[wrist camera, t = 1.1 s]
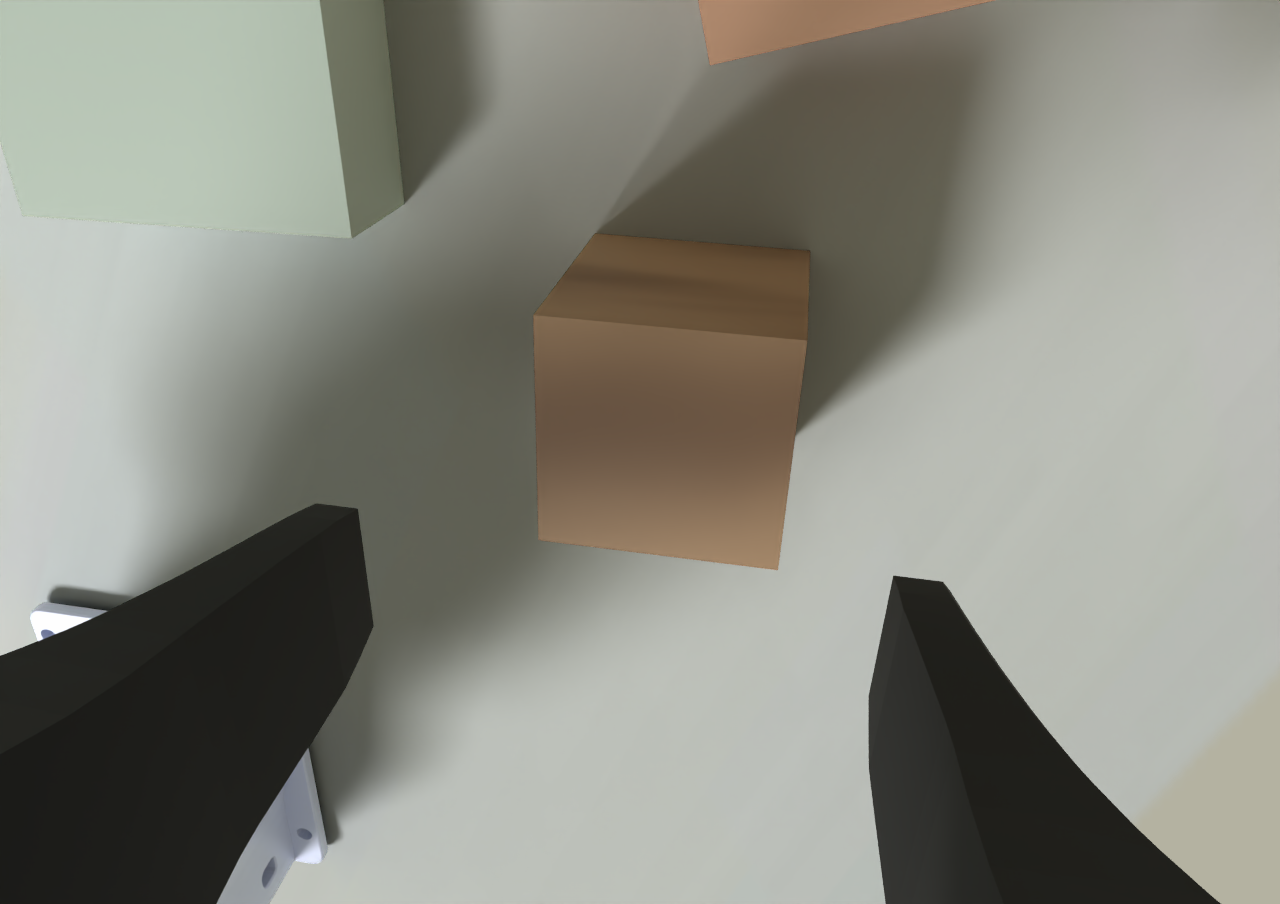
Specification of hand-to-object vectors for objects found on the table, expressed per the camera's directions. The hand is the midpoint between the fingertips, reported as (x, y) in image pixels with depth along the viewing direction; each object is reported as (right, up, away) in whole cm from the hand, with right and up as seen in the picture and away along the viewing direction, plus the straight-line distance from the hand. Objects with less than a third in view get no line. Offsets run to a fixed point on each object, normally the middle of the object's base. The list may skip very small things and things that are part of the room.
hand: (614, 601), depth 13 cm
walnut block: (+2, +4, +8) cm, 9 cm away
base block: (-8, +11, +7) cm, 15 cm away
